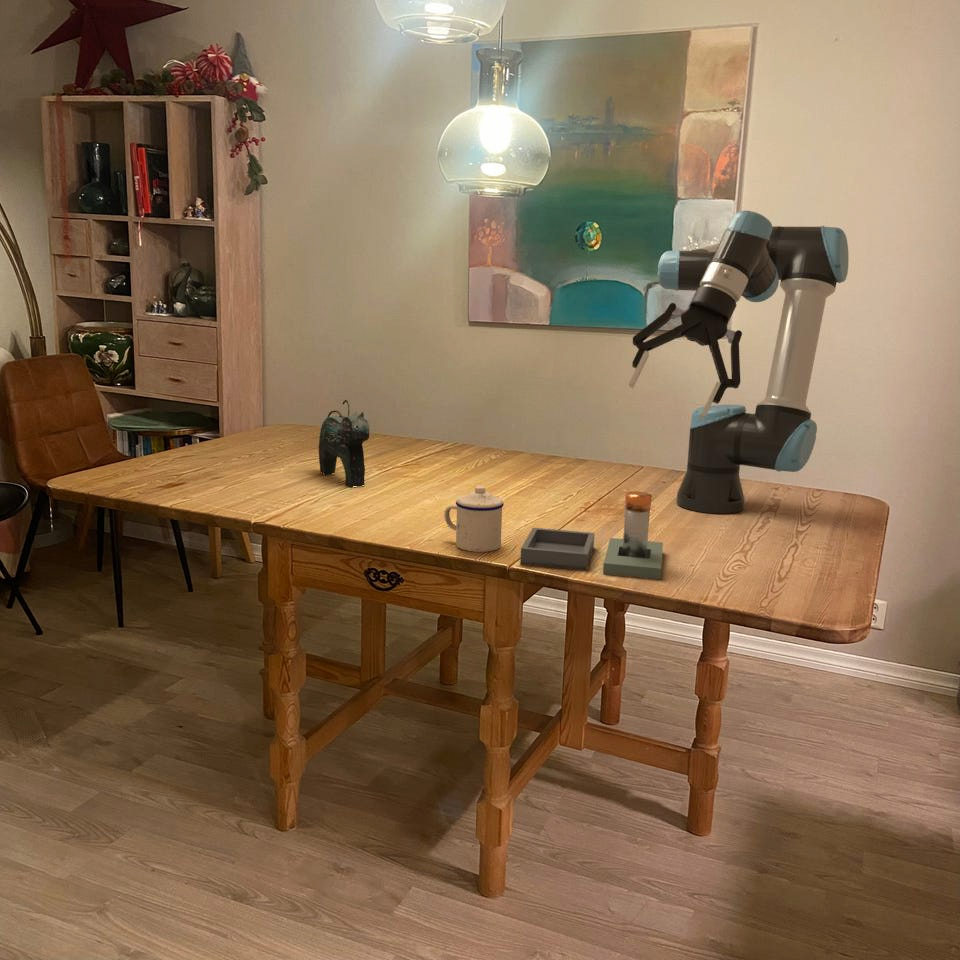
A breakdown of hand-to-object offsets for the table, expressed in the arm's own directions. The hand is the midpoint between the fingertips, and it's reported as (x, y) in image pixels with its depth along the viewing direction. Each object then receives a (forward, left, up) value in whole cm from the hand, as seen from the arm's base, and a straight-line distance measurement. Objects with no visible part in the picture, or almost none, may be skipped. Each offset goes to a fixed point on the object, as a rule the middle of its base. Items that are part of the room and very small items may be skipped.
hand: (666, 401), depth 164 cm
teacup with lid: (-2, -35, -30) cm, 46 cm away
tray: (0, -18, -30) cm, 35 cm away
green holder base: (0, -4, -30) cm, 30 cm away
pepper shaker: (0, -4, -30) cm, 30 cm away
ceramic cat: (-44, -77, -30) cm, 93 cm away
